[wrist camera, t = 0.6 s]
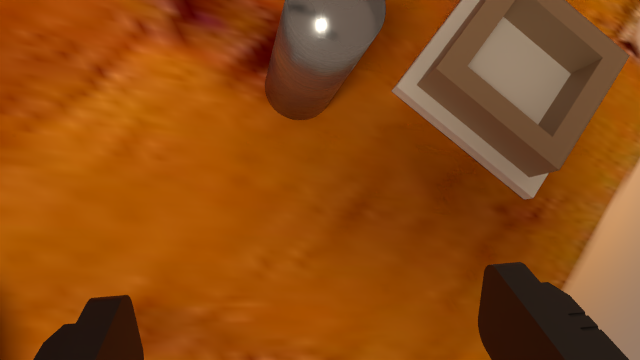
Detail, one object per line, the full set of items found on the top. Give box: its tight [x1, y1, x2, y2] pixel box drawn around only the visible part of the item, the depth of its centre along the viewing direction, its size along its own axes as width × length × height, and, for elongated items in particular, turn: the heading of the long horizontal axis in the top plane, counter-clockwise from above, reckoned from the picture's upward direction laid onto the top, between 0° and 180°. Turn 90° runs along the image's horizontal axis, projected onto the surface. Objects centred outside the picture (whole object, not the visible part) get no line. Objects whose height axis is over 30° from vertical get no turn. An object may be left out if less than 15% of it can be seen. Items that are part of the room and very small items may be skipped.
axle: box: [265, 0, 386, 120], centre depth 26 cm, size 4×4×11 cm
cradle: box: [392, 0, 629, 200], centre depth 33 cm, size 12×12×4 cm
